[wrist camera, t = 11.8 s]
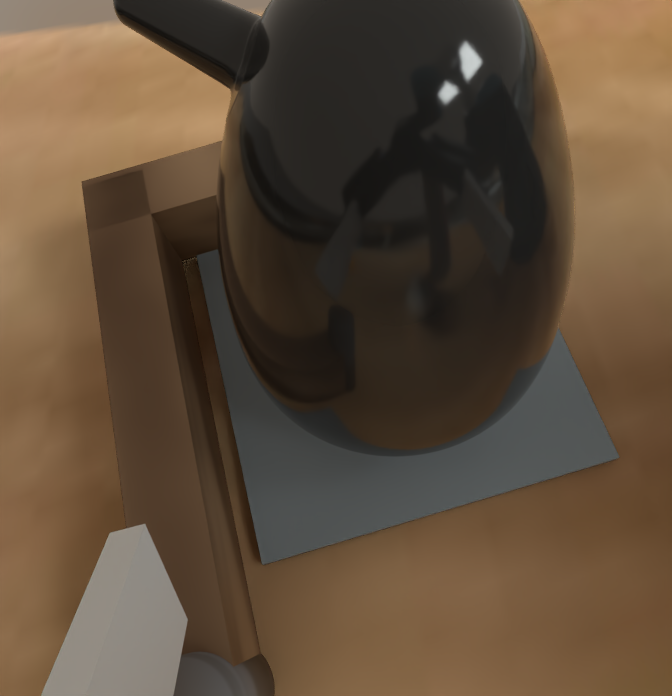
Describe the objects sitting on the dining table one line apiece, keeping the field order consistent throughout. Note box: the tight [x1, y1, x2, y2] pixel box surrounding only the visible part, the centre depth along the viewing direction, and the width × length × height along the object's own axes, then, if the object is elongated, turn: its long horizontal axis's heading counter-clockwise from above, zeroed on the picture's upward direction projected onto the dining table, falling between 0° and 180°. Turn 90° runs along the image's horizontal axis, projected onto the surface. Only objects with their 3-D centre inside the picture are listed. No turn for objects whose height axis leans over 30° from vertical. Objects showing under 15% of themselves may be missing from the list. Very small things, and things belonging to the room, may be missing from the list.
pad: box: [196, 249, 619, 565], centre depth 23 cm, size 13×13×1 cm
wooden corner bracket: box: [82, 141, 274, 696], centre depth 21 cm, size 18×21×5 cm
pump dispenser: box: [113, 0, 575, 457], centre depth 16 cm, size 10×10×15 cm
